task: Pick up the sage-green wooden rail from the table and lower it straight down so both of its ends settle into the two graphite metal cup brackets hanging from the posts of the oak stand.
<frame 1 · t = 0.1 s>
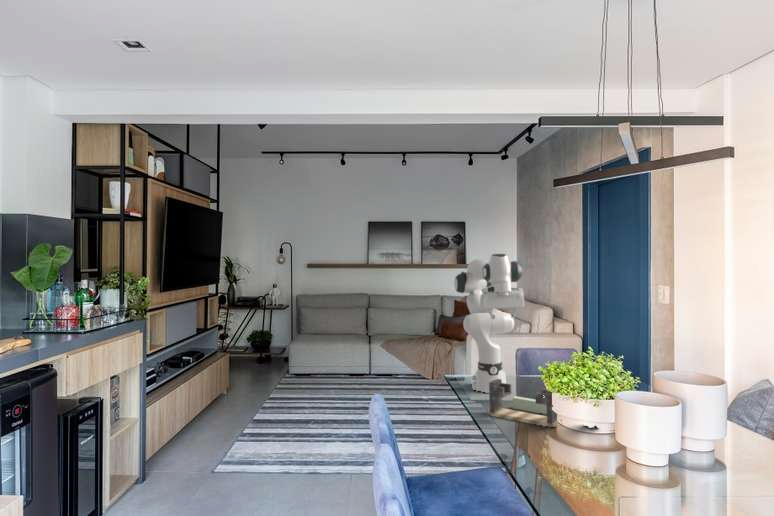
hand: (503, 318, 228), 39 cm above the table, tool pointing down, fingers open, 8 cm apart
rail stand: (523, 418, 205), on the table
rail: (535, 412, 215), on the table
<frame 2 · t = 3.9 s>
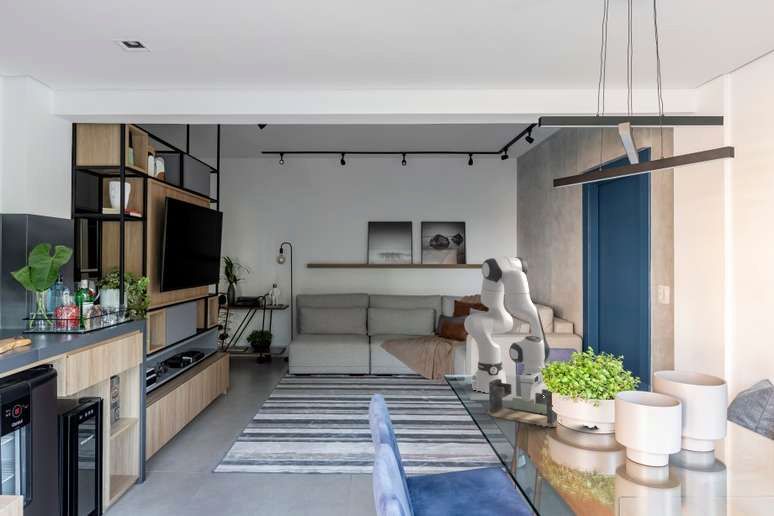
hand: (535, 406, 215), 2 cm above the table, tool pointing down, fingers closed on rail, 3 cm apart
rail: (535, 411, 215), on the table, touching gripper
everything else where it was.
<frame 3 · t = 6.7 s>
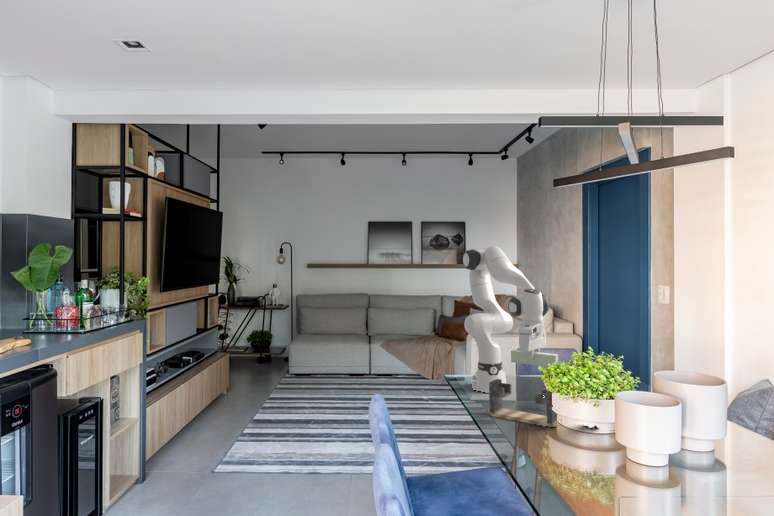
hand: (534, 359, 215), 23 cm above the table, tool pointing down, fingers closed on rail, 3 cm apart
rail: (534, 364, 215), point 20 cm above the table, touching gripper
everything else where it was.
when the fingers open (13 cm above the table, at t = 9.8 s): rail stays where it is, resting on rail stand.
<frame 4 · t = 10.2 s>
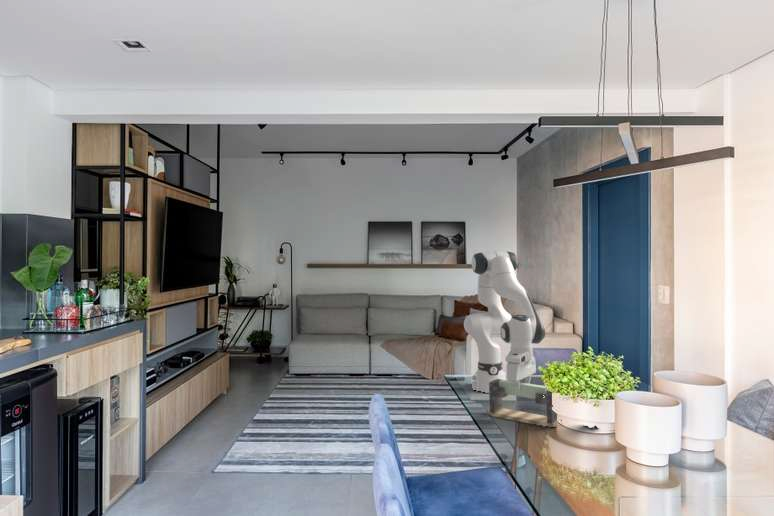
hand: (522, 388, 206), 13 cm above the table, tool pointing down, fingers open, 7 cm apart
rail: (523, 395, 205), point 9 cm above the table, touching rail stand
everything else where it was.
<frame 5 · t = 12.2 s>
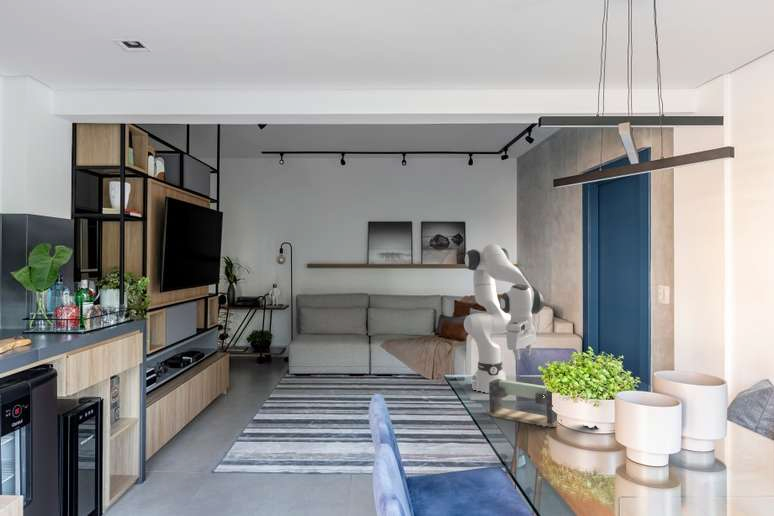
hand: (522, 357, 206), 25 cm above the table, tool pointing down, fingers open, 8 cm apart
nothing on the table moved.
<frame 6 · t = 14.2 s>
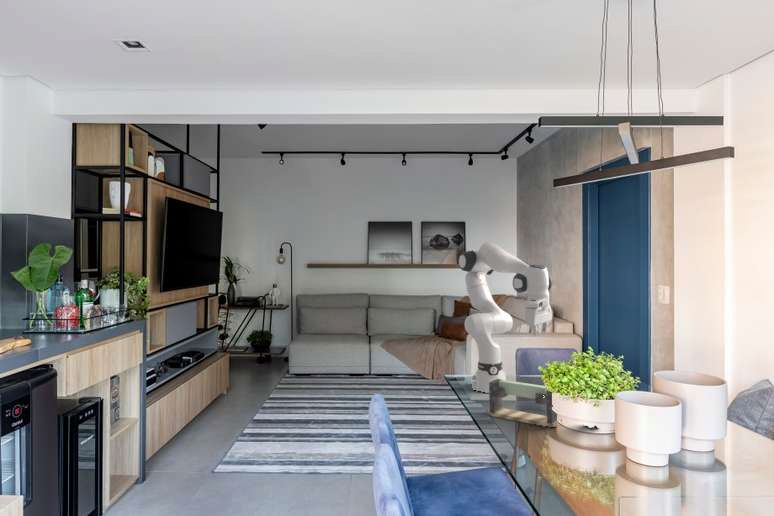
hand: (539, 333, 217), 33 cm above the table, tool pointing down, fingers open, 8 cm apart
nothing on the table moved.
at the end: rail 0.0 cm off-centre on the rail stand, point 9.5 cm above the rail stand's base; rail tilted 0°; the gripper is holding nothing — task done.
